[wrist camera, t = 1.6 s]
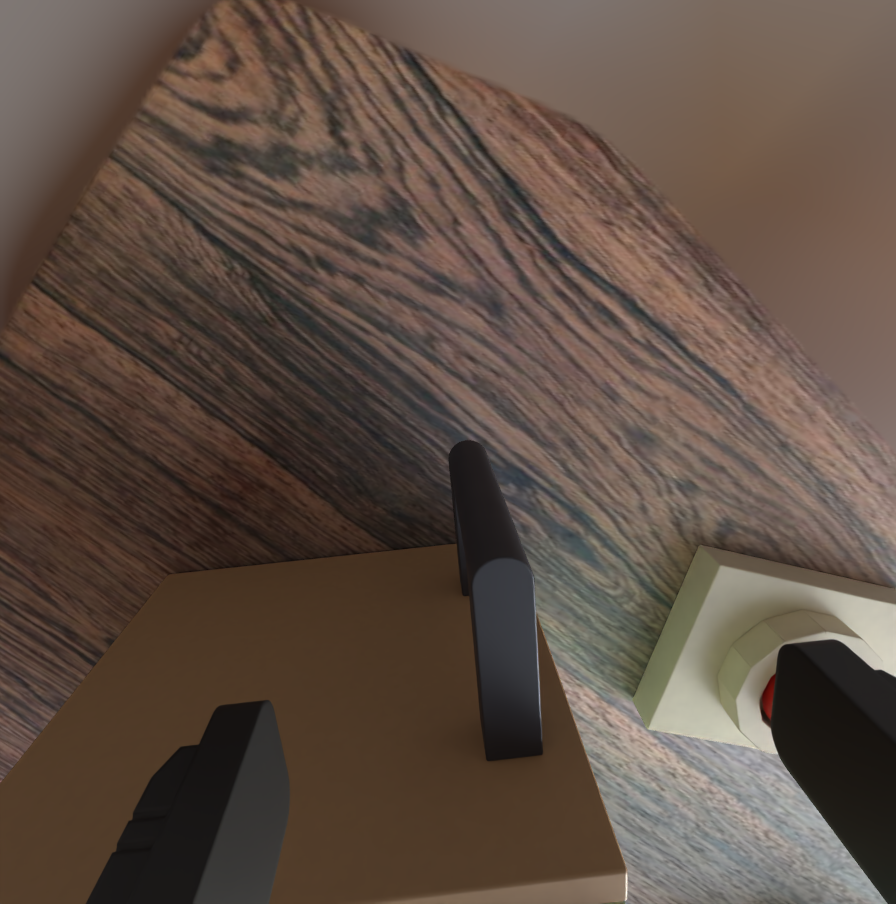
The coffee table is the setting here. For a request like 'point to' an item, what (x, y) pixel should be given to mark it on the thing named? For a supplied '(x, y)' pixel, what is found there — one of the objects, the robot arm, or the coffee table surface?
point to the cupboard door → (342, 726)
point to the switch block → (751, 641)
